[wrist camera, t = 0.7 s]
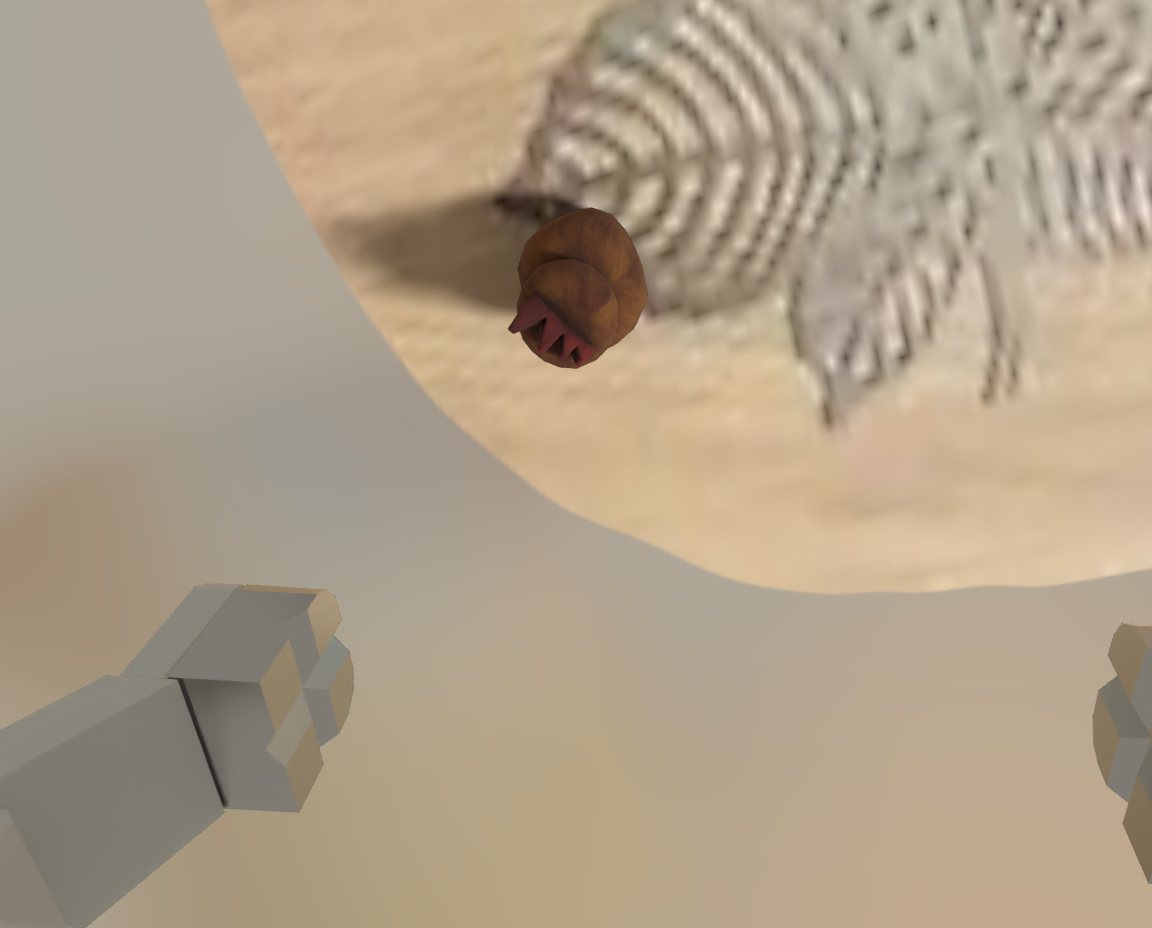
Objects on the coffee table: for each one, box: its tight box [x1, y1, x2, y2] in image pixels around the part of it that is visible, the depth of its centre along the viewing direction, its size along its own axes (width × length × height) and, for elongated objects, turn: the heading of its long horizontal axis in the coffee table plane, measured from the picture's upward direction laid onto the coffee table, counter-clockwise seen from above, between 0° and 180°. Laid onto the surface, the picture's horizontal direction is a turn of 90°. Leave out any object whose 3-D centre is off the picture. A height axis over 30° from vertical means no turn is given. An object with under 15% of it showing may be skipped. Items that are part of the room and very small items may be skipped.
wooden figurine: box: [508, 207, 648, 369], centre depth 45 cm, size 7×6×15 cm
